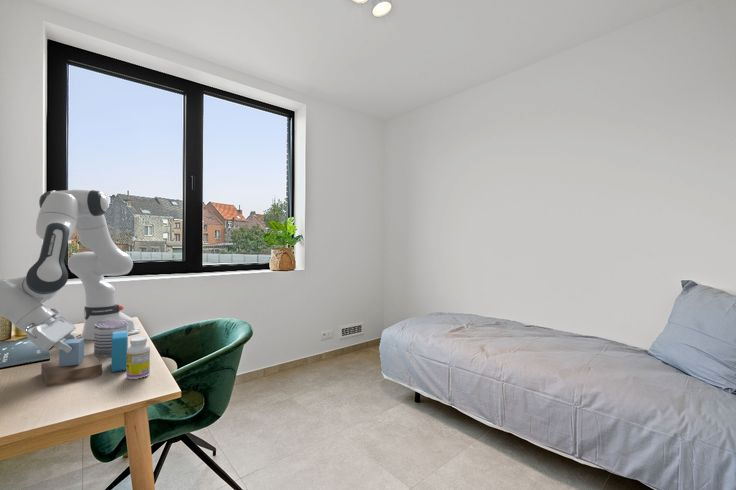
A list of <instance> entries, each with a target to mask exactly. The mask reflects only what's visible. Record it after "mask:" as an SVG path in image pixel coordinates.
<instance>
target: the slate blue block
mask: <svg viewBox="0 0 736 490" xmlns="http://www.w3.org/2000/svg"><path fill="white" fill-rule="evenodd" d="M62 341H63V343H65V344H67V345H71V346H72V347H73V349H72V350H71V351H70V352H68V353H66V352H65V351H63V350H61V349H58V351H59V352H58V353H59V354H58V360H59V367H60V366H71V365H79V364H80V363H81V362H82V361H83V360H84V356H85V339H84V338H81V337H80V338H76V339H67V340H66V339H63V340H62Z"/></svg>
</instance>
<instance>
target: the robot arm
mask: <svg viewBox="0 0 736 490" xmlns="http://www.w3.org/2000/svg"><path fill="white" fill-rule="evenodd" d="M38 205H39V212H38V215H37V219H36V225H35V233H36V235H37V236H38V237H39V238H40V239H41V240H42V244H41V248H40V249H41V250H40V253H39V257H38V258H37V261H36V262H35V263H34V264H33V265H31V267H30V268H29V269H28V271H27V273H26V275H25V276H23V277H18V278H16V277H15V278H10V279H0V317H2V318H4V319H7V320H9V321H10V322H11V323H12V325H13V326H15V328H17V329H19V330H20V331H22V332H23V333H25V335H26V338H27V339H28V340H29V341H30V342H31V343H33V344H34V345H35V346H36V347H37V348H39V349H41V350H42V351H48V350H49V349H51V348H53V347H54V348H55V349H58V350H59V349H61V350H63V351H65V352H66V353H68V352H70V351H71V350H72V349H73V347H72V346H71V345H67V344H65V343H63V341H64V340H67V339H77V338H76V335H75V334H73V332H74V331H75V330H76V325H74V323H73V322H71V321H70V320H69V319H68V318H66V316H64V315H63V314H60V312H61V311H60V310H58V309H57V308H52V307H51V308H50V307H47V306H45V304H43V303H45V302H46V301H49V300H51V299H53V298H54V297H55V296H56V295H57V294H58V293H59V292H60V290H61V289H62V288H64V286H66V284H67V282H68V279H69V272H68V269H69V270H70V272H71V273H72V274H74V275H75V276H76V277H78V279H79V280H80V281H81V284H82V285H83V287H84V292H85V295H84V296H85V306H84V309H83V318H84V324H83V330H82V333H81V334H80V339H81V338H84V340H94V327H95V325H93V324H95V323H97V322H99V321H106V320H124V321H127V322H129V324H128V336H130V335H136V334H139V333H140V332H141V329H140V328H139V327H138V326H136V325H135V322H134V319H133V318H132V317H131V316H129V315H127V314H125V313H123V312H122V311H123V310H124V308H125V307H124V306H123V305H120V304H117V303H116V302H117V301H116V296H117V294H116V293H117V292H116V288H115V286H114V285H113V284H111V283H109V282H108V281H106V279H105V278H104V277H105V276H107V277H111V276H113V277H115V276H116V277H117V276H123V275H128V274H129V273H130V272H131V271H132V269H133V266H134V262H133V258H132V257H131V255H129V254H128V253H126V252H124V251H123V250H122V249H120V248H119V246H118V245H116V244H115V242H114V240H113V239H112V237H111V234H110V231H109V227H108V223H107V219H106V216H105V214H106V212H108V209H109V200H108V197H107V195H106V194H104V193H103V192H102V191H100V190H94V189H93V190H87V189H69V190H68V189H67V190H66V189H65V190H49V191H45V192H44V193H42V194H41V195H40V197H39V201H38ZM75 231H76V235H77V238H78V240H79V243H80V244H81V246H83V247H85V248H86V249H89V250H90V251H81V252H76V253H73V254H72V255H71V256H70V257H69V258H68V262H67V266H68V269H67V267H66V264H65V258H66V253H67V252H66V251H67V247H68V243H69V241H71V238H72V237H73V235H74V233H75Z"/></svg>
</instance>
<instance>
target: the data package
mask: <svg viewBox="0 0 736 490" xmlns="http://www.w3.org/2000/svg"><path fill="white" fill-rule="evenodd" d="M128 348H129V335H128V330H125V331H115V332H113V336H112V356H111V358H110V359H111V360H110V361H111V363H110V364H111V369H110V370H111V372H112V373H116V371H117V372H121V371H122V370H123V371H126V369H127V368H126V367H127V349H128Z"/></svg>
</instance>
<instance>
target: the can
mask: <svg viewBox="0 0 736 490" xmlns="http://www.w3.org/2000/svg"><path fill="white" fill-rule="evenodd" d="M128 324H129V322H127V321H124V320H106V321H99V322H97V323H95V324H93V325H95V327H94V342H93V343H94V345H93V351H94V352H93V354H94V356H95V357H96V356H97V357H112V336H113V332H115V331H125V330H128Z"/></svg>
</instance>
